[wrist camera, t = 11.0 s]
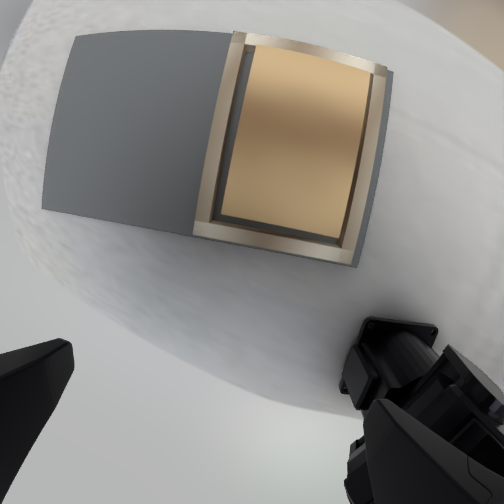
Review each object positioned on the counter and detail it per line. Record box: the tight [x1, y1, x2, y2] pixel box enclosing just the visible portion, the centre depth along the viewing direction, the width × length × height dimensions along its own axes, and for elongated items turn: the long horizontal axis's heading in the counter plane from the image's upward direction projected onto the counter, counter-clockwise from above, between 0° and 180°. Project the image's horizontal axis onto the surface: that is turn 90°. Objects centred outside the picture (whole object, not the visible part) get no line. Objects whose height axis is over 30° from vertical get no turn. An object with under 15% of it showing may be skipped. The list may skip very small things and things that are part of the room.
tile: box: [221, 44, 371, 238], centre depth 16 cm, size 9×6×3 cm, turn 169°
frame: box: [193, 31, 387, 265], centre depth 16 cm, size 9×12×1 cm
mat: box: [42, 30, 393, 268], centre depth 17 cm, size 22×13×1 cm, turn 79°
